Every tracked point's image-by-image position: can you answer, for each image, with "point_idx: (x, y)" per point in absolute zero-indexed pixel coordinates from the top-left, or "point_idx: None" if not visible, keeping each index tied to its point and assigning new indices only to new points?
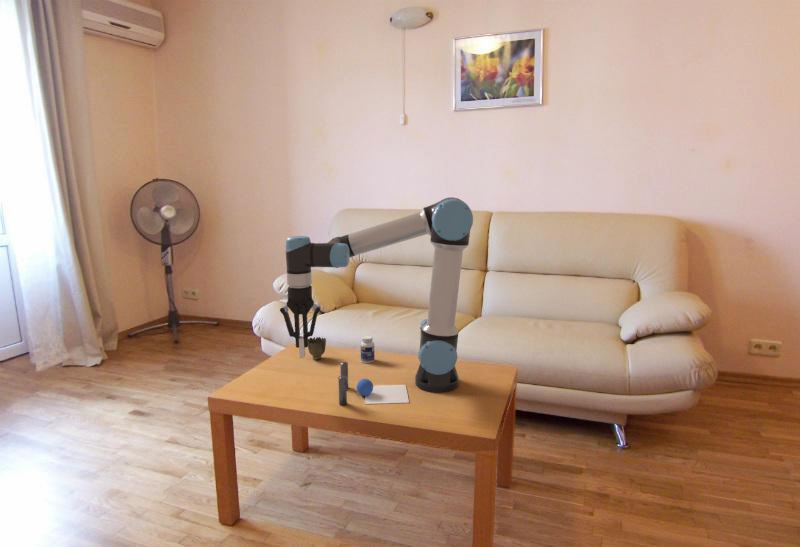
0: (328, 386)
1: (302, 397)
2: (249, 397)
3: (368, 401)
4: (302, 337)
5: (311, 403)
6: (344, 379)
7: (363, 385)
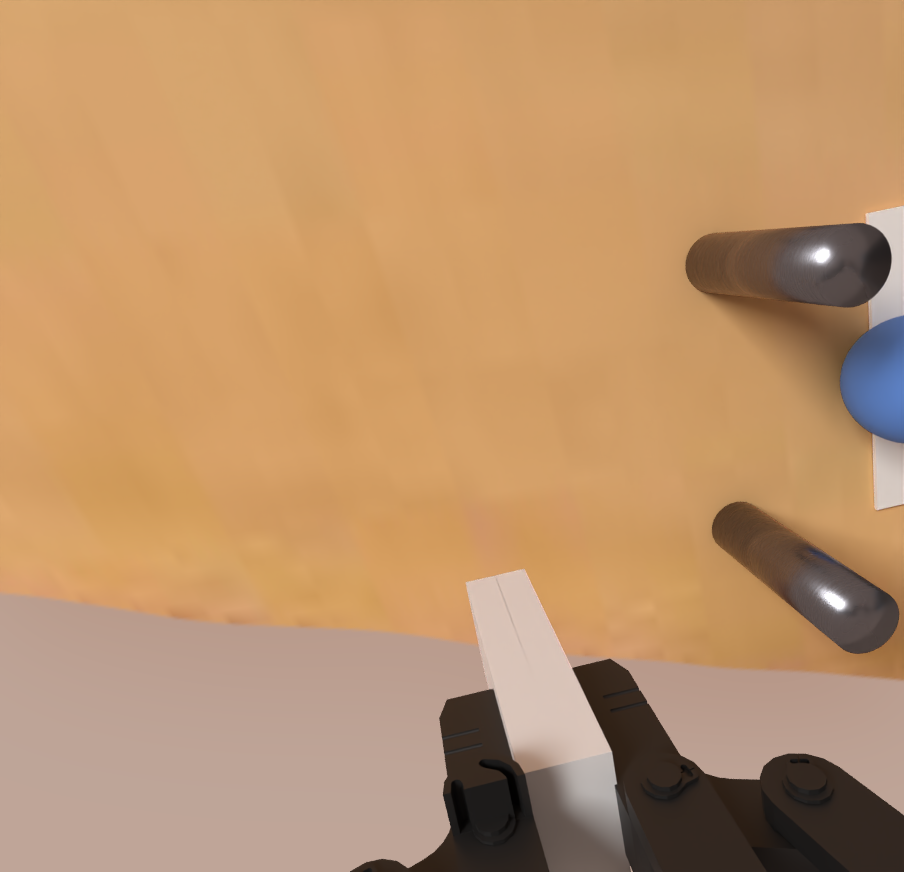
0: (581, 248)
1: (437, 472)
2: (36, 532)
3: (897, 475)
4: (594, 831)
5: (529, 550)
6: (878, 638)
7: None
